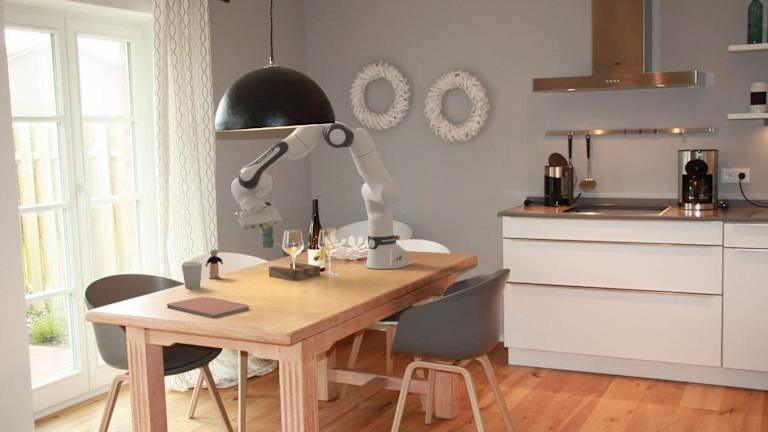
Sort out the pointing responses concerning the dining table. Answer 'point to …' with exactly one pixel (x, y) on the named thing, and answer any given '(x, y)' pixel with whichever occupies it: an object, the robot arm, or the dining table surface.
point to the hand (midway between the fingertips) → (268, 233)
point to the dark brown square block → (295, 271)
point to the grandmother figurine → (214, 264)
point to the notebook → (208, 306)
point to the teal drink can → (267, 235)
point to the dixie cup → (192, 274)
